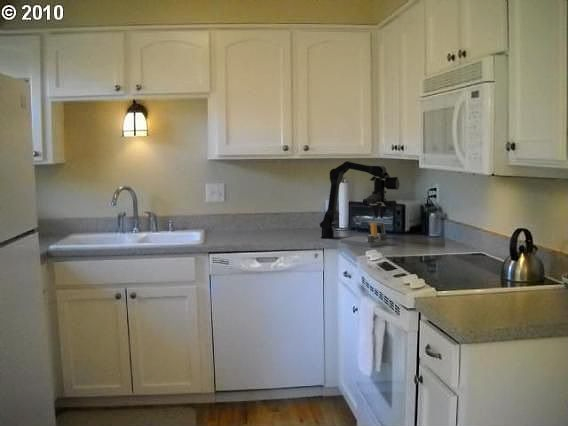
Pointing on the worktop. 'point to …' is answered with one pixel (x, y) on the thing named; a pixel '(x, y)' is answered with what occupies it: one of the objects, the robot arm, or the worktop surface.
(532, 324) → the worktop surface
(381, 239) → the breaker panel
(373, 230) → the breaker
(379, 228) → the electrical switch
